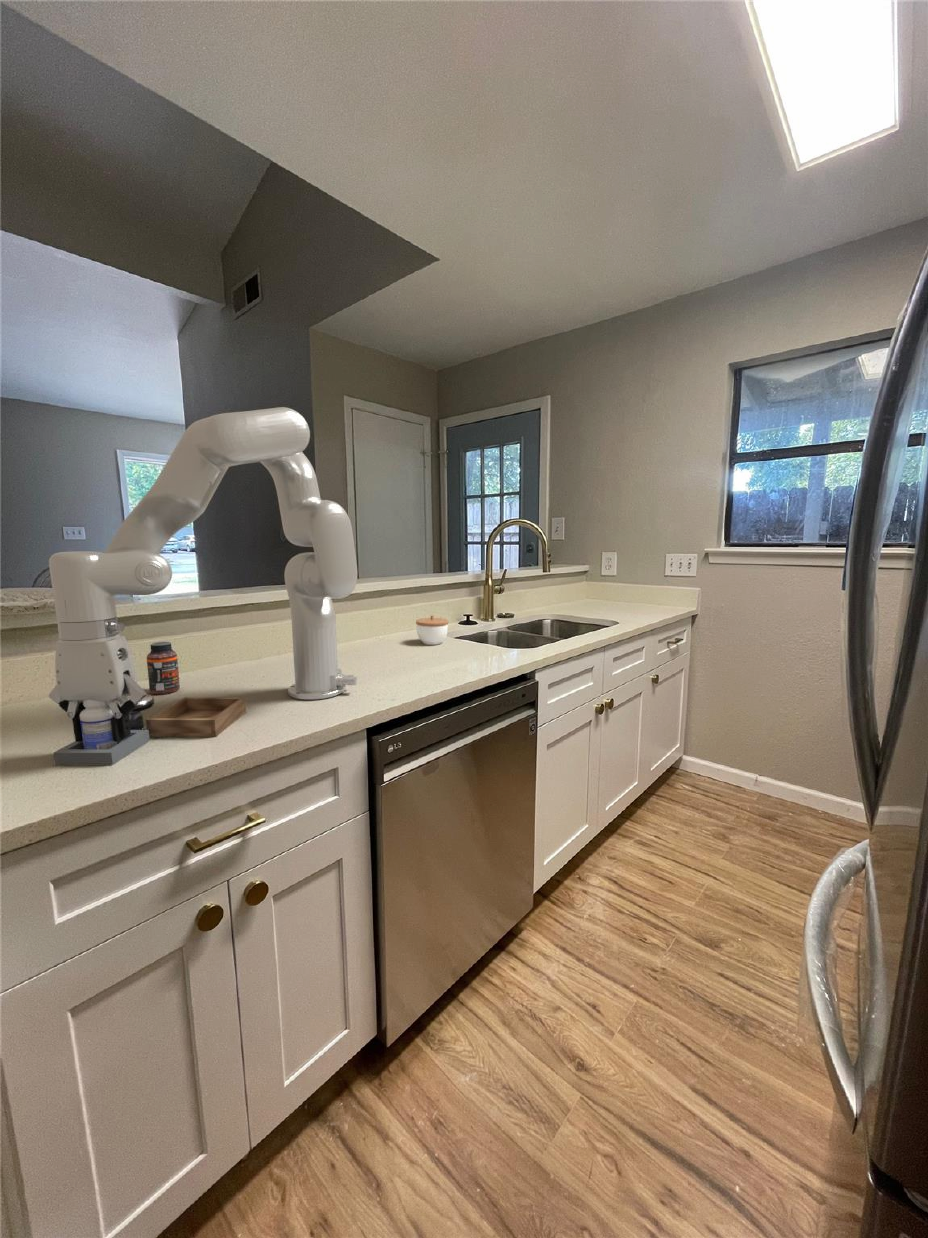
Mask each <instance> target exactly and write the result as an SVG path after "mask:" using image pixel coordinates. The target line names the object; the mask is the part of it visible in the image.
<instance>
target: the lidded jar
mask: <svg viewBox="0 0 928 1238" xmlns="http://www.w3.org/2000/svg"><path fill="white" fill-rule="evenodd" d="M415 624H416V633H417V637H418V638H419V640H420V641H421V642H422V643H423V644H424V645H426V646H437V645H441V644H442V643H443V641H445V640H446V637H447V636H448V630H449V620H448V619H447V618H444V617H443V618H442V617H434V615H432V614H431V615H430V617H424V618H423V617H422V618H418V619H416V622H415Z"/></svg>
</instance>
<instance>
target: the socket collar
mask: <svg viewBox="0 0 928 1238" xmlns="http://www.w3.org/2000/svg"><path fill="white" fill-rule="evenodd" d="M148 742H151V741H150V736H149V730H147V729H141V730H131V731H130V735H129V736H128V737H126V738H124V741H122V742H121V743H119V744H117V745H116V746H114V747H112V748H111V749H84V745H83V741H81V742H76V741H73V742H70V743H69V744H67V745H65V746H63V747H61V748H60V749H57V750H55V751H54V752H53V759H54V765H57V766H59V765H60V766H62V765H64V766H67V765H69V766H71V765H72V766H73V765H76V766H78V765H81V766H83V765H84V766H85V765H86V766H90V765H91V766H96V765H97V766H100V765H101V766H103V765H104V766H105V765H106V766H109V765H110V766H113V765H115V764H116V763H118V762H120V761H121V760H123V759H124V758H126V757H127V756H128V755H130V754H132V753H133V752H135V751H137V750H138V749H139V748H141V747H142V746H144V745H145V744H147V743H148Z"/></svg>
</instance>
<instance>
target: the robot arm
mask: <svg viewBox="0 0 928 1238" xmlns="http://www.w3.org/2000/svg"><path fill="white" fill-rule="evenodd" d="M310 438H311V431H310V427H309V424H308V422H307V421H306V419H305V417H304V416H303V415H302V414H300V413H299V411H297V410H294V409H292V408H290V407H285V406H281V407H280V406H279V407H273V408H272V407H271V408H264V409H255V410H247V411H234V412H233V411H232V412H223V413H219V414H214V415H210V416H209V417H205V418H202V419H198V420H196V421H194V422H193V423H191V424H190V425H189V426H188V427H187V428H186V429H185V431H184V432H183V434H182V435H181V437H180V439H179V441H178V442H177V443H176V444H177V445H176V446H175V447H174V449H173V451H172V453H171V455H170V456H169V458H168V459H167V461H166V463H165V465H164V466H163V468H162V470H161V471H160V473H159V474H158V476H157V477H156V479H155V481H154V482H153V485H152V486H151V487H150V489H148V491H147V492H146V493H145V495H143V497H142V498H141V499H140V501H139V502H138V503H137V504H136V506H135V507H134V508H133V509H132V511H131V512H130V513H129V514H128V515H127V517H125V519H124V520H123V522H122V523H121V525H120V526H119V528H118V529H117V531H116V532H115V534H114V536H113V537H112V538H111V540H110V543H109V544H108V545H107V548H106V549H105V551H104V552H102V551H94V550H93V551H89V550H88V551H86V550H85V551H75V550H74V551H60V552H56V553H53V554H52V555H50V557H49V560H48V567H49V574H50V581H51V587H52V595H53V601H54V603H53V604H54V608H55V609H54V610H55V617H56V623H57V631H58V637H59V640H57V641H56V646H55V654H54V655H55V659H54V661H55V662H54V664H55V666H54V667H55V680H56V681H55V682H56V685H55V686H54V687H53V689H52V690H51V691H50V693H49V694H48V698H49V699H50V700H52V702H55V703H56V704H58V706H59V708H61V709H62V710H63V711H64V712H66V717H68V718H69V719H71V720H72V727H73V733H74V734H73V735H74V740H75V741H76V742H81V741H83V737H82V730H81V723H80V713H81V712H82V711H83V710H84V709H86V707H84V705H83V701H86V700H92V701H107V702H108V705H109V707H110V709H111V711H112V713H113V715H114V718H112V719H111V727H112V734H113V741H114V742H119V741H121V740H123V739H124V738H126V737H128V736H129V735H130V731H131V727H130V719H129V713H130V712H132V710H133V708H134V707H135V706H136V705H137V704H138V703H139V702H140V701H141V700H142V699H143V698H144V697H145V696H146V694H147V691H146V690H144V689H143V688H142V687H141V686H140V685H139V684H138V679H137V672H136V667H135V663H134V659H133V654H132V652H131V648H130V645H129V644H128V641H127V639H126V636H125V635H120V632H124V630H125V626H126V625H125V624H124V622H123V623H122V622H119V620H118V615H117V614H118V613H117V606H116V605H117V604H116V597H115V596H116V595H118V596H119V595H121V596H125V595H126V596H128V595H129V596H150V595H155V594H157V593H160V592H162V591H163V590H165V589H166V588H167V587H168V585H170V583H171V581H172V578H173V570H172V566H171V564H170V562H169V561H168V560H167V559H166V558H165V557H164V556H163V555H161V554H160V553H161V552H162V550H163V549H164V547H166V545H167V543H168V542H169V541H170V540H171V538H172V537H174V535H175V534H176V533H178V532H179V531H180V530H182V529H183V528H185V527H187V526H188V525H191V524H192V523H193V522H194V521H196V520H197V519H198V518H199V517H200V516H202V515H203V514H204V512H206V509H207V507H208V505H209V504H210V501H211V500H212V498H213V496H214V494H215V492H216V490H217V489H218V487H219V485H220V484H221V482H222V479H223V478H224V476H225V474H226V473H227V471H228V469H229V468H230V467H235V466H239V465H246V464H247V465H248V464H253V463H260V464H262V466H264V467H265V468H266V470H267V471H268V472H269V474H270V476H271V477H272V479H273V483H274V485H275V490H276V495H277V501H278V505H279V506H278V507H279V512H280V517H281V524H282V530H283V534H284V536H285V538H286V539H287V541H288V542H290V543H291V544H293V545H295V546H299V547H305V548H306V547H309V548H313V552H301V553H298V554H296V555H295V556H293V557H291V558H290V560H288V562H287V564H286V565H285V569H284V584H285V587H286V591H287V592H286V593H287V595H288V600H289V606H290V619H291V637H292V651H293V652H292V653H293V669H294V670H293V671H294V684H291V685H290V686H289V687H288V688H287V693H288V695H289V696H290V697H291V698H293V699H298V700H307V701H308V700H309V701H310V700H313V701H314V700H321V699H322V700H323V699H328V698H332V697H336V696H338V695H340V694H343V693H344V692H345V691H346V686H357V683H358V678H357V676H354V674H346V675H345V674H344V673H342V668H339V665H338V662H339V661H338V643H337V639H338V638H337V616H336V610H335V605H334V603H333V600H334V599H335V600H341V599H344V598H346V597H348V596H350V595H351V594H352V592H353V591H354V590H355V588H356V585H357V582H358V563H357V555H356V547H355V540H354V533H353V532H354V531H353V526H352V522H351V520H350V518H349V515H348V513H347V512H346V510H345V509H344V508H343V507H342V506H341V505H340V504H339V503H337V502H335V501H333V500H329V499H322V498H321V495H320V490H319V489H320V488H319V484H318V479H317V475H316V472H315V470H314V467H313V464H312V463H311V461H310V460H309V458H308V457H307V456H306V455H305V454H304V452H303V451H305V450H306V448H307V447H308V445H309V443H310ZM128 695H130V696H131V698H130V699H129V700H128V698H127V696H128ZM118 701H119V703H120V705H121V707H120V705H119V703H118Z"/></svg>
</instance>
